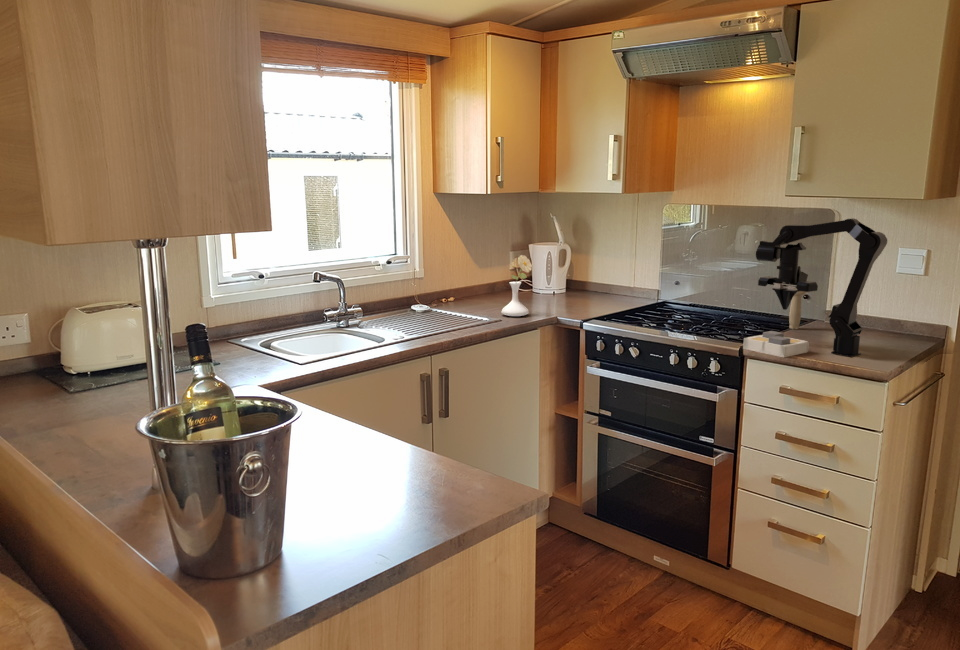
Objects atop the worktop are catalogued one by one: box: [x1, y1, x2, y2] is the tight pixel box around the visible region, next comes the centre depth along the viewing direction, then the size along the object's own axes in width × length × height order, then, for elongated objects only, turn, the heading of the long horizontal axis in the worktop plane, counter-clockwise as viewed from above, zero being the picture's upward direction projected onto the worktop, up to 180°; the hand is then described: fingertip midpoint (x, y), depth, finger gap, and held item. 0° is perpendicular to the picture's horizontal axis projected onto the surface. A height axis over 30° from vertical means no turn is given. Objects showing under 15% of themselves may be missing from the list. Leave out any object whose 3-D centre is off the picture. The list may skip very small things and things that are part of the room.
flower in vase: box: [501, 254, 533, 317], centre depth 300 cm, size 13×11×25 cm
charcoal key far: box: [762, 330, 785, 338], centre depth 243 cm, size 5×5×3 cm
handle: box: [788, 291, 807, 330], centre depth 273 cm, size 5×6×15 cm
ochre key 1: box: [753, 337, 769, 342], centre depth 240 cm, size 5×5×3 cm
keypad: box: [742, 334, 810, 358], centre depth 239 cm, size 15×13×4 cm
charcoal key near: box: [768, 336, 791, 345], centre depth 234 cm, size 5×5×3 cm
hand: (785, 309), depth 246 cm, fingers closed
